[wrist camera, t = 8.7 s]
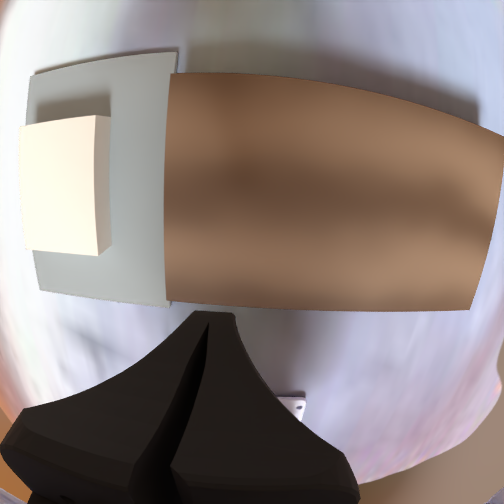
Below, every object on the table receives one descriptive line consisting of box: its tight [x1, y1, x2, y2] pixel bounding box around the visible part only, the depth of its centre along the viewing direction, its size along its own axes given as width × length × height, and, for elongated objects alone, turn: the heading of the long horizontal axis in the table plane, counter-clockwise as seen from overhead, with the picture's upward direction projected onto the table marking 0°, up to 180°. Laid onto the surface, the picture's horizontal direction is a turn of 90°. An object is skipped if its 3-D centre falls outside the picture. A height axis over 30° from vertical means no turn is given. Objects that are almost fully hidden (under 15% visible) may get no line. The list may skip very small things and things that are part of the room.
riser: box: [164, 73, 504, 312], centre depth 16 cm, size 12×20×3 cm, turn 86°
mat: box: [26, 52, 178, 308], centre depth 17 cm, size 16×11×1 cm
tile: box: [19, 115, 112, 256], centre depth 16 cm, size 8×6×2 cm
